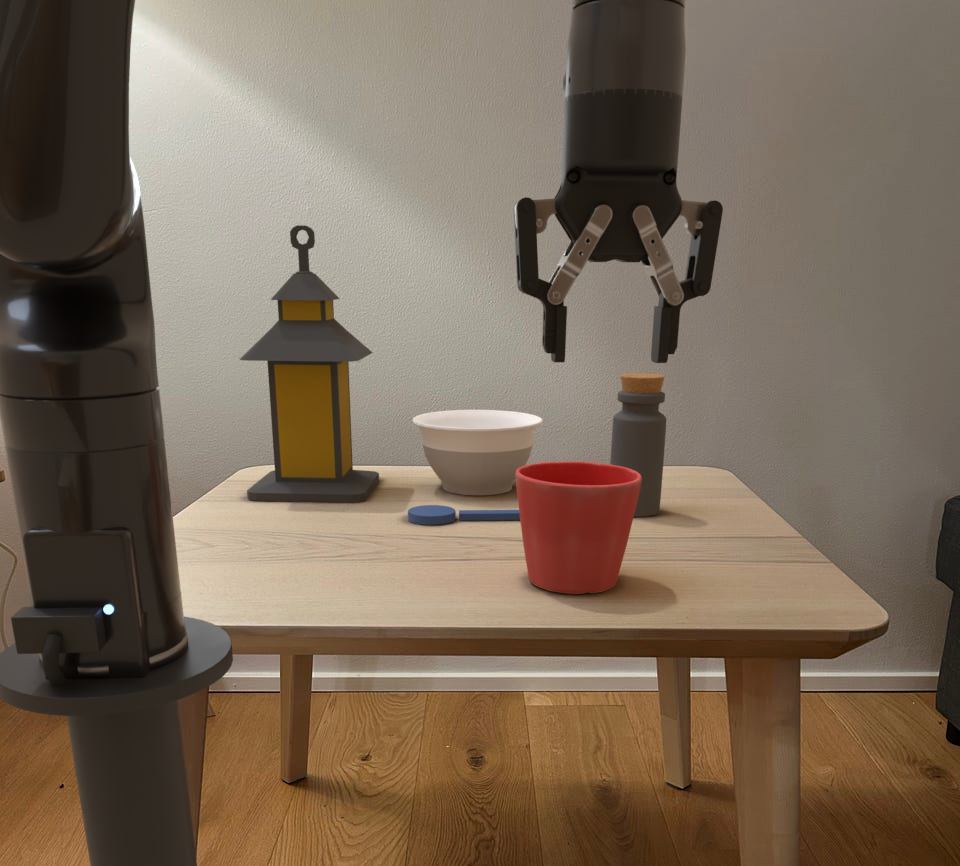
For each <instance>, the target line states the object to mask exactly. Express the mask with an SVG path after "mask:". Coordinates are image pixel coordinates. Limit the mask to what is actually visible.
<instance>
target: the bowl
mask: <svg viewBox="0 0 960 866" xmlns="http://www.w3.org/2000/svg"><path fill="white" fill-rule="evenodd" d="M411 422H412V423H413V424H414V425H416V426H417V427H418V428H419V430H420V437H421V438H420V440H421V444H422V449H423V453H424V457H425V458H426V460H427V462H428V464H429V466H430V468H431V469H432V471H433V472H434V473H435V475H436V476H437V478H438V479H439V481H440V482H441V486H442V489H443V491H445V492H447V493H451V494H455V495H463V496H494V495H499V494H506V493H508V492H510V491H512V489H513V485H514V482H515V481H516V477H515V472H516V470H517V469H518V468H520V467H522V466H525V465H527V462H528V461H529V459H530V456H531V453H532V450H533V446H534V443H535V441H534V440H535V431H536V429H537V428H538V427H539V426H541V425H542V424H543V423H544V420H543V418H542V417H540V416H539V415H535V414H532V413H527V412H520V411H514V410H513V411H511V410H500V409H499V410H498V409H496V410H495V409H454V410H453V409H450V410H438V411H431V412H425V413H422V414H418V415H416V416H413V418H412V421H411Z"/></svg>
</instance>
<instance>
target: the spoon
mask: <svg viewBox="0 0 960 866" xmlns="http://www.w3.org/2000/svg"><path fill="white" fill-rule="evenodd" d="M456 513H457V512H456V509H455V508H453V507H451V506H448V505H442V504H441V505H440V504H423V505H416V506H413V507H410V508H409V509H408V510H407V520H408V522H410V523H413V524H417V525H423V526H439V525H440V526H441V525H446V524H451V523H453V522H455V521H456V518H457V517H456V515H457V514H456ZM458 520H459V521H460V522H462V521H463V522H467V521H468V522H469V521H471V522H472V521H479V522H480V521H520V513H519V509H461V510H460V509H459V510H458Z"/></svg>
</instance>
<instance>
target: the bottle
mask: <svg viewBox="0 0 960 866" xmlns="http://www.w3.org/2000/svg"><path fill="white" fill-rule="evenodd" d="M664 380H665V375H663V374H658V373H648V372H647V373H646V372H645V373H643V372H631V373H630V372H629V373H622V374H620V381H621V388H622V390H619V391H618V392H617V401H618V402H620V403H621V404H622V405H621V406H622V407H621V410H620V411H618V412H617V413H615V414H614V415H613V418H612V427H611V428H612V430H611V445H610V446H611V447H610V463H609V464H610V465H616V466H622V467H626V468H629V469H632V470H634V471H636V472H638V473H639V474H640V475H641V477H642V482H641V488H640V492H639V497H638V501H637V505H636V509H635V513H634V517H633V518H638V517H640V518H642V517H651V516H655V515H658V514H659V513H660V509H661V499H662V489H663V488H662V487H663V474H664V473H663V472H664V461H665V447H666V433H667V417H666V416H665V414H663V413H662V412H661V411H659V409H660V404H663V403H665V400H666V393H665V392H663V391H662V389H663V385H664Z"/></svg>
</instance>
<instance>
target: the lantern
mask: <svg viewBox="0 0 960 866" xmlns="http://www.w3.org/2000/svg"><path fill="white" fill-rule="evenodd" d="M301 231H304V232H306V235H307V236H308V238H307V240H306V242H305V243H300V242H299V240H298V235H299V232H301ZM289 235H290V237H289V239H290V244H291V247H292V248H294V249H297V255H298V257H297V258H298V271H295V273H293V274H292V275H291V276H290V277H289V278H288V279H287V280H286V281H285V283H284V284H283V285H282V286H281V287H280V288H279V289H278V291H277V292H276V293H275V294H274V295H273V296H272V297H271V298H270V301H277V313H278V320H277V322H275V324H273V326H272V327H271V328H270V329H269V330H268V331H267V332H266V333H265V334H263V336H262V337H260V339H258V340H257V341H256V342H255V343H254V344H253V345H252V347H250V348H249V349H248V350H247V351H246V352H245V353H244V354H243V355H242V356H241V357H240V358H239V361H248V362H249V361H251V362H252V361H254V362H256V361H257V362H258V361H259V362H261V361H263V362H267V375H268V388H269V390H268V391H269V404H270V405H269V406H270V419H271V434H272V449H273V461H274V470H271V471H269V472H268V473H267V474H265V475H264V476H263V477H262V478H261V479H259V480H257V482H255V483H254V484H253V485H252V486H251V487H249V488H248V489H247V490H246V496H247V497H246V498H247V499H248V500H249V501H253V502H294V503H295V502H297V503H298V502H301V503H303V502H304V503H305V502H306V503H361V502H365V501H366V500H367V499H368V497H369V496H370V494H371V493H372V491H373V490H374V489H375V487H376V486H377V484H378V483H379V481H380V472H378V471H375V470H363V469H362V470H361V469H354V465H353V463H354V462H353V442H352V441H353V440H352V417H351V416H352V415H351V390H350V389H351V388H350V365H349V362H351V363H352V362H359V361H361V360H362V359H364V358H367V357H368V356H371V354H373V351H372V350H370V349H369V348H368V347H367V346H366V345H365V344H364V343H362V342H361V341H360V340H359V339H357V338H356V336H354V335H353V334H352V333H351V332H349V331H348V330H347V329H346V328H345V327H344V326H343V325H342V324H341V323H340V322H339V321H338V320H336V318H335V310H334V301H336V300H340V297H339V296H338V295H337V294H336V293H335V292H334V290H332V289H331V288H330V287H329V286H328V285H327V284H326V283H325V282H324V281H323V280H322V278H320V277H319V276H318V275H317V274H316V273H314V272H313V271H310V259H309V258H310V256H309V250H311V249H313V248H315V245H316V238H315V235H316V234H315V231H314V229H313V228H312V227H310V226H308V225H299V224H298V225H295V226H292V228H291V229H290V231H289Z"/></svg>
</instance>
